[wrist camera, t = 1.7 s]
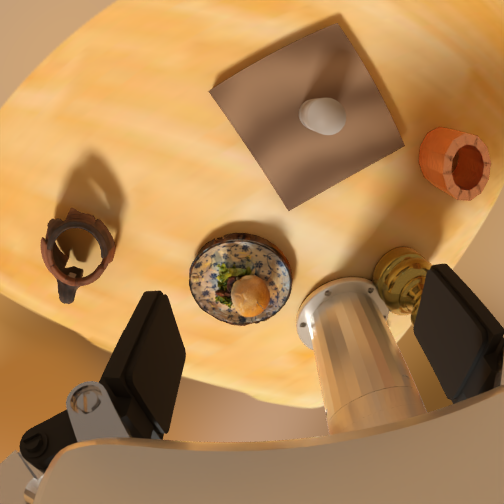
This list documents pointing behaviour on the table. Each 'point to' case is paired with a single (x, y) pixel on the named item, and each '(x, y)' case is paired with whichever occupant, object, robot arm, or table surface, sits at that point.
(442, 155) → the ring
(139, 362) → the robot arm
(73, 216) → the pottery mug
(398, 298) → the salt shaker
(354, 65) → the post stand
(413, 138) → the table surface
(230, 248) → the burger
